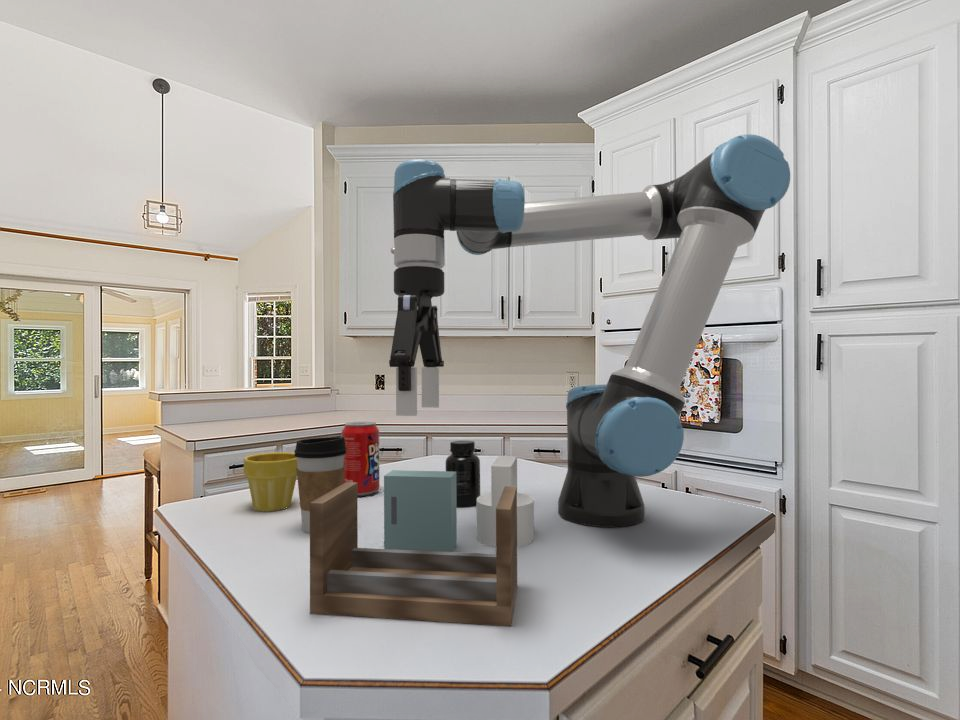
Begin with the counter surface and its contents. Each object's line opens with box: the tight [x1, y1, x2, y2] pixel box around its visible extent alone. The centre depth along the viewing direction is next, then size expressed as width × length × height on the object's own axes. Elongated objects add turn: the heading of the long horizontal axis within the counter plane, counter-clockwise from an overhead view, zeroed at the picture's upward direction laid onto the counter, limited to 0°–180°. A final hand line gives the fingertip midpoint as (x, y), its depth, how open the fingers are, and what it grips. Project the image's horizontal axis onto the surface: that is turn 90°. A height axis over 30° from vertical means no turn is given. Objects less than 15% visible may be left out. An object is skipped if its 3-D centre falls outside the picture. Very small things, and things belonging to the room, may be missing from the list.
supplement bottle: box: [445, 440, 481, 508], centre depth 100 cm, size 7×7×12 cm
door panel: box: [383, 469, 458, 552], centre depth 75 cm, size 10×4×11 cm, turn 82°
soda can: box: [340, 421, 380, 497], centre depth 108 cm, size 8×8×15 cm
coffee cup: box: [293, 436, 347, 534], centre depth 85 cm, size 8×8×15 cm
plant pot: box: [243, 451, 298, 512], centre depth 98 cm, size 10×10×10 cm
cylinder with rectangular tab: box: [475, 455, 535, 548], centre depth 79 cm, size 9×9×12 cm
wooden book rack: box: [309, 482, 518, 627], centre depth 59 cm, size 22×10×12 cm, turn 82°
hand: (419, 411), depth 75 cm, fingers open, 13 cm apart
